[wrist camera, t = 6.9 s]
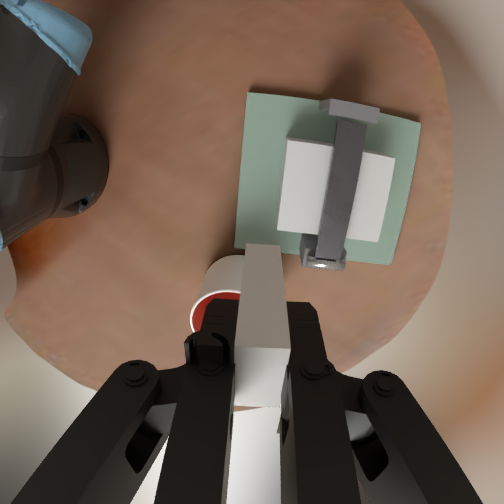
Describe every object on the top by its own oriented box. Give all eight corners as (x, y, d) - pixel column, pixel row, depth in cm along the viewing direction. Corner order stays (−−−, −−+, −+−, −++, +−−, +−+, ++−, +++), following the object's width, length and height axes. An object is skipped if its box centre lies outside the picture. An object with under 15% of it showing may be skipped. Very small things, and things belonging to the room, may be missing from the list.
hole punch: (235, 244, 43) (226, 274, 35) (248, 93, 34) (241, 86, 27) (388, 261, 42) (408, 292, 35) (417, 122, 34) (449, 127, 26)
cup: (241, 237, 42) (233, 273, 33) (288, 287, 45) (291, 330, 36) (191, 278, 46) (173, 318, 36) (237, 321, 48) (229, 366, 39)
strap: (305, 262, 36) (306, 268, 35) (329, 117, 28) (331, 118, 27) (341, 266, 36) (343, 272, 35) (371, 125, 28) (374, 126, 27)
